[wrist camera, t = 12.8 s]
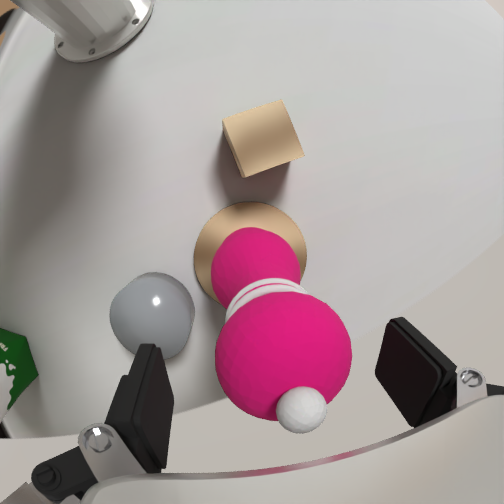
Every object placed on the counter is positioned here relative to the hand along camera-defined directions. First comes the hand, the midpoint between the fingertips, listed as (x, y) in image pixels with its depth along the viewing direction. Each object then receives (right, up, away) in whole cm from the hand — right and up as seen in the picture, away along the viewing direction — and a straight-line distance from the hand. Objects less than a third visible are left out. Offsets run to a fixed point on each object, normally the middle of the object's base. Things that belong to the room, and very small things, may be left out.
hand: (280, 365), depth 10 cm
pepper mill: (-1, +4, +17) cm, 17 cm away
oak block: (-1, +15, +15) cm, 21 cm away
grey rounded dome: (-11, -2, +18) cm, 21 cm away
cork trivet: (-1, +4, +17) cm, 18 cm away
